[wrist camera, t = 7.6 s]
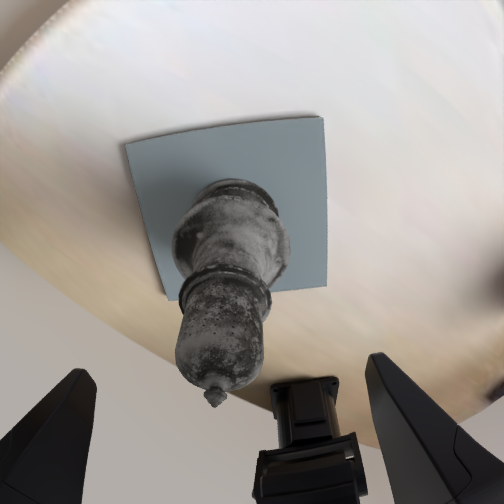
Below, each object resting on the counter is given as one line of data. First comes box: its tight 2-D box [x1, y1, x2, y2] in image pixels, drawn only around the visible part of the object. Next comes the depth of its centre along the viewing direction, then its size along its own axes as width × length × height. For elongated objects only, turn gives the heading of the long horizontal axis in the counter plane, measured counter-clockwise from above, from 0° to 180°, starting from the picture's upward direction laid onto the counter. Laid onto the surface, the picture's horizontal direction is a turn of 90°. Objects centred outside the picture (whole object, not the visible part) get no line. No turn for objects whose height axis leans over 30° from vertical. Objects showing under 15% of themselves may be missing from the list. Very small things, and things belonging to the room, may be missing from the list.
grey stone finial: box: [171, 179, 291, 407], centre depth 13 cm, size 6×6×12 cm
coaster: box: [125, 117, 327, 301], centre depth 19 cm, size 11×11×1 cm
